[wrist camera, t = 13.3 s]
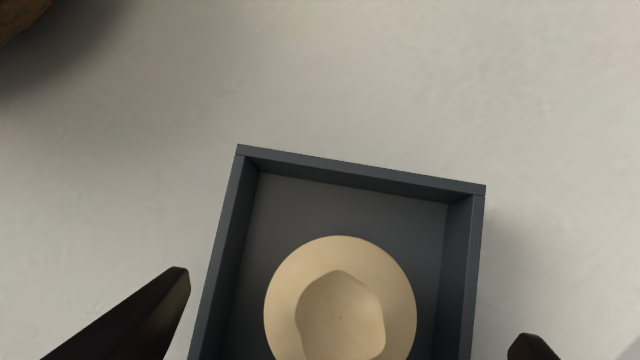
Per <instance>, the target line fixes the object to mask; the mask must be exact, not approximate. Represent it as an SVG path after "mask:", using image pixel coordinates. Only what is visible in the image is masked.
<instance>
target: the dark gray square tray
mask: <svg viewBox="0 0 640 360" xmlns="http://www.w3.org/2000/svg"><path fill="white" fill-rule="evenodd" d="M235 154H236V155H235V156H234V161H233V165H232V169H231V174H230V178H229V182H228V186H227V191H226V195H225V199H224V203H223V208H222V212H221V216H220V220H219V225H218V229H217V233H216V238H215V242H214V246H213V250H212V255H211V259H210V263H209V267H208V272H207V276H206V280H205V285H204V289H203V293H202V297H201V302H200V306H199V310H198V314H197V319H196V323H195V327H194V331H193V336H192V340H191V344H190V349H189V353H188V357H187V360H276V358H275V356H274V355H273V353H272V350H271V348H270V346H269V343H268V340H267V336H266V333H265V326H264V304H265V298H266V294H267V290H268V287H269V285H270V282H271V280H272V278H273V276H274V274H275V272H276V271H277V269H278V268H279V266H280V265H281V264H282V262H283V261H284V260H285V259H286V258H287V257H288V256H289V255H290V254H291V253H292V252H294V251H295V250H296V249H298V248H299V247H301V246H302V245H304V244H306V243H308V242H310V241H313V240H316V239H319V238H323V237H328V236H339V235H340V236H351V237H355V238H360V239H362V240H365V241H368V242H370V243H372V244H374V245H376V246H378V247H379V248H381V249H382V250H384V251H385V252H386V253H387V254H388V255H390V256H391V257H392V258H393V259H394V260H395V261H396V263H397V264H398V265H399V266H400V268H401V269H402V270H403V272H404V273H405V275H406V277H407V279H408V281H409V283H410V285H411V288H412V291H413V294H414V298H415V302H416V311H417V325H416V332H415V337H414V341H413V344H412V347H411V350H410V352H409V354H408V356H407V358H406V360H470V358H471V347H472V336H473V325H474V314H475V303H476V292H477V281H478V270H479V259H480V248H481V237H482V226H483V215H484V204H485V197H484V196H485V192H486V185H482V184H476V183H470V182H464V181H458V180H452V179H446V178H440V177H434V176H428V175H422V174H416V173H410V172H404V171H398V170H392V169H386V168H380V167H374V166H368V165H362V164H356V163H350V162H344V161H338V160H332V159H326V158H320V157H314V156H308V155H302V154H296V153H290V152H284V151H278V150H272V149H266V148H260V147H254V146H248V145H242V144H237V148H236V152H235Z"/></svg>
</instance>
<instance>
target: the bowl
mask: <svg viewBox="0 0 640 360" xmlns="http://www.w3.org/2000/svg"><path fill="white" fill-rule="evenodd" d="M52 2H53V0H0V46H1V45H3V44H5V43H6V42H8V41H9V40H11V39H12V38H14V37H15V36H17V35H18V34H20V33H21V32H22V31H24V30H25V29H27V28H28V27H29V26H31V25H32V24H33V23H34V22H35V21H36V20H37V19H38V18H39V17H40V16H41V15H42V14H43V13H44V12H45V11H46V10H47V8H48V7H49V6H50V4H51V3H52Z"/></svg>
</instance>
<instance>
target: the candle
mask: <svg viewBox="0 0 640 360" xmlns="http://www.w3.org/2000/svg"><path fill="white" fill-rule="evenodd" d="M416 325H417V311H416V302H415V298H414V294H413V291H412V288H411V285H410V283H409V281H408V279H407V277H406V275H405V273H404V272H403V270H402V269H401V268H400V266H399V265H398V264H397V263H396V261H395V260H394V259H393V258H392V257H391V256H390V255H388V254H387V253H386V252H385V251H384V250H382V249H381V248H379V247H378V246H376V245H374V244H372V243H370V242H368V241H365V240H362V239H360V238H355V237H351V236H340V235H339V236H328V237H323V238H319V239H316V240H313V241H310V242H308V243H306V244H304V245H302V246H301V247H299V248H298V249H296V250H295V251H294V252H292V253H291V254H290V255H289V256H288V257H287V258H286V259H285V260H284V261H283V262H282V264H281V265H280V266H279V268H278V269H277V271H276V272H275V274H274V276H273V278H272V280H271V282H270V285H269V287H268V290H267V294H266V298H265V304H264V326H265V333H266V336H267V340H268V343H269V346H270V348H271V350H272V353H273V355H274V356H275V358H276V360H406V358H407V356H408V354H409V352H410V350H411V347H412V344H413V341H414V337H415V332H416Z"/></svg>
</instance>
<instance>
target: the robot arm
mask: <svg viewBox="0 0 640 360" xmlns="http://www.w3.org/2000/svg"><path fill="white" fill-rule="evenodd" d="M190 292H191V285H190V279H189V273H188V270H187V269H186V268H181V267H176V266H173V267H171V268H169V269H167V270H166V271H165V272H163V273H162V274H160V275H159V276H158V277H156V278H155V279H153V280H152V281H150V282H149V283H148V284H146V285H145V286H143V287H142V288H141V289H139V290H138V291H136V292H135V293H133V294H132V295H131V296H129V297H128V298H126V299H125V300H124V301H122V302H121V303H119V304H118V305H116V306H115V307H114V308H112V309H111V310H109V311H108V312H107V313H105V314H104V315H102V316H101V317H99V318H98V319H97V320H95V321H94V322H92V323H91V324H90V325H88V326H87V327H85V328H84V329H82V330H81V331H80V332H78V333H77V334H75V335H74V336H73V337H71V338H70V339H68V340H67V341H65V342H64V343H63V344H61V345H60V346H58V347H57V348H55V349H54V350H53V351H51V352H50V353H48V354H47V355H46V356H44V357H43V358H41V359H40V360H163V358H164V356H165V354H166V352H167V350H168V348H169V346H170V343H171V341H172V339H173V336H174V334H175V331H176V329H177V326H178V324H179V321H180V319H181V316H182V313H183V311H184V308H185V306H186V303H187V301H188V298H189V296H190ZM507 359H508V360H561V359H560V358H559V357H558V356H557V355H556V354H555V353H554V351H553V350H552V349H551V348H550V347H549V346H548V345H547V344H546V342H545V341H544V340H543V339H542V338H541V337H539V336H538V335H534V334H529V333H521V334H519V336H518V337H517V338H516V340H515V341H514V342H513V344H512V345H511V346H510V348H509V350H508V354H507Z"/></svg>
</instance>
